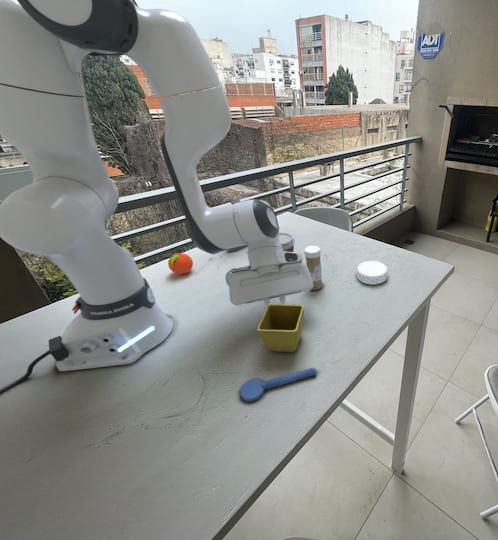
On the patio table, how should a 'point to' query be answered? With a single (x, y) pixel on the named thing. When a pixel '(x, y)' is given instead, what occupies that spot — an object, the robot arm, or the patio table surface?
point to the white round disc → (372, 272)
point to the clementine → (180, 263)
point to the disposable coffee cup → (286, 242)
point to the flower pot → (281, 327)
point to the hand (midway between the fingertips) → (277, 315)
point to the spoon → (270, 384)
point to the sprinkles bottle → (314, 265)
